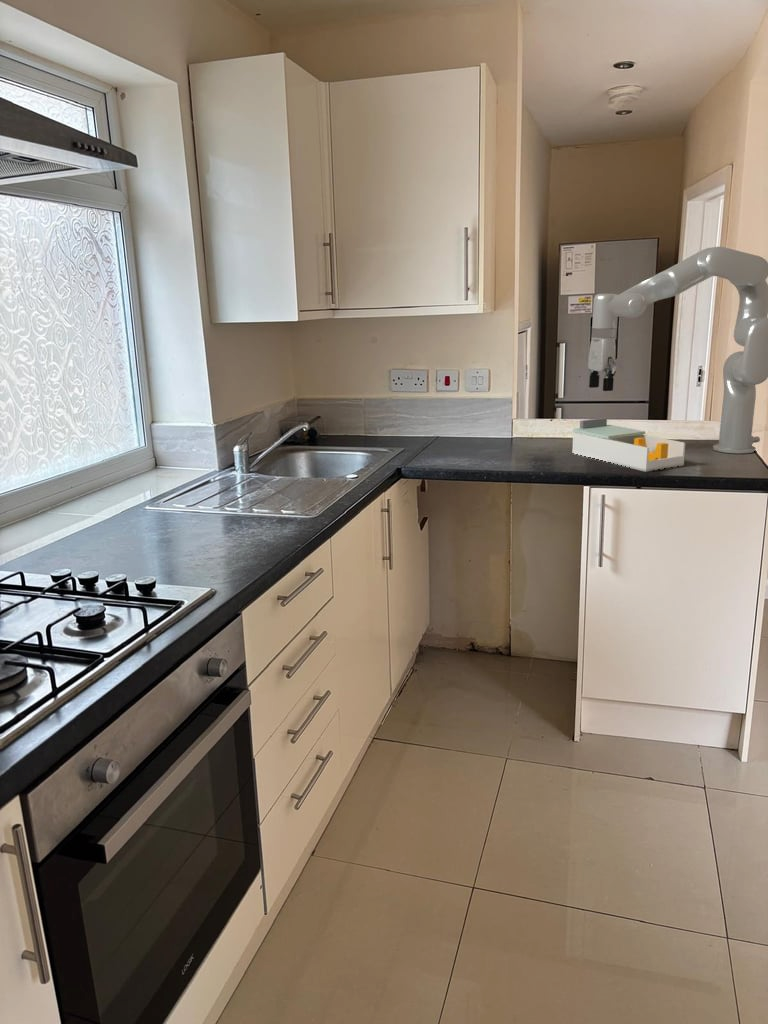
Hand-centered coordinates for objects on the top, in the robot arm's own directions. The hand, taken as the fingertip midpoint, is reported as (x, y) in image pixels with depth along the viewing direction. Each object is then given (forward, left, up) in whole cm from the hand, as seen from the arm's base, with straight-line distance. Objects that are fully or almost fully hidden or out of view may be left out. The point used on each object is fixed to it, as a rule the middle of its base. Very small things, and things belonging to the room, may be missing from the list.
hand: (600, 389), depth 250 cm
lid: (0, +4, -13) cm, 14 cm away
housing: (0, +13, -21) cm, 24 cm away
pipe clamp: (-1, +21, -20) cm, 29 cm away
